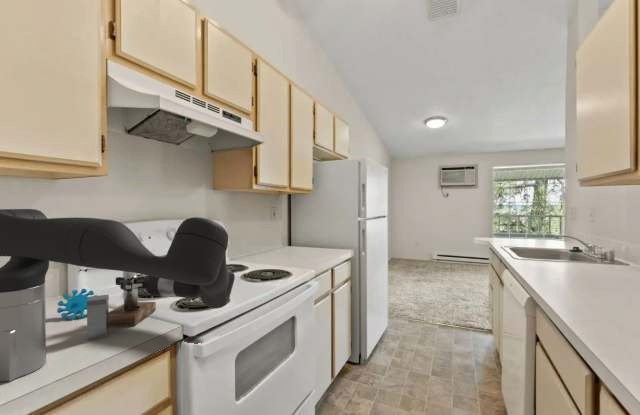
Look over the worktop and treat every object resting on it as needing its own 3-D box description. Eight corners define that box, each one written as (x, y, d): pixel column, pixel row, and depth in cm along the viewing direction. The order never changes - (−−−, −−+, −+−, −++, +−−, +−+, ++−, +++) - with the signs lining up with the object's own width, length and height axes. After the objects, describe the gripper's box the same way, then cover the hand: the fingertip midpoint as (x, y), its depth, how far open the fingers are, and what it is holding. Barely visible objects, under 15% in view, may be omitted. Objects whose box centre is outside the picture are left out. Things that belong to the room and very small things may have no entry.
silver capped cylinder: (133, 309, 90) (132, 262, 90) (120, 310, 90) (119, 262, 90) (140, 305, 94) (139, 259, 94) (128, 306, 94) (127, 260, 94)
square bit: (106, 337, 79) (106, 298, 79) (86, 340, 77) (86, 300, 77) (109, 331, 83) (108, 294, 83) (90, 334, 81) (89, 296, 81)
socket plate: (134, 326, 86) (134, 315, 86) (101, 326, 86) (101, 316, 86) (155, 311, 98) (155, 301, 98) (126, 311, 98) (126, 302, 98)
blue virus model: (49, 317, 88) (65, 286, 95) (54, 326, 92) (69, 296, 99) (94, 318, 92) (106, 288, 99) (97, 327, 96) (108, 297, 103)
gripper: (148, 304, 81) (100, 298, 86) (187, 289, 94) (143, 285, 100) (148, 275, 81) (99, 271, 86) (186, 265, 94) (142, 262, 99)
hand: (123, 279), depth 93 cm, fingers closed on silver capped cylinder, 3 cm apart
